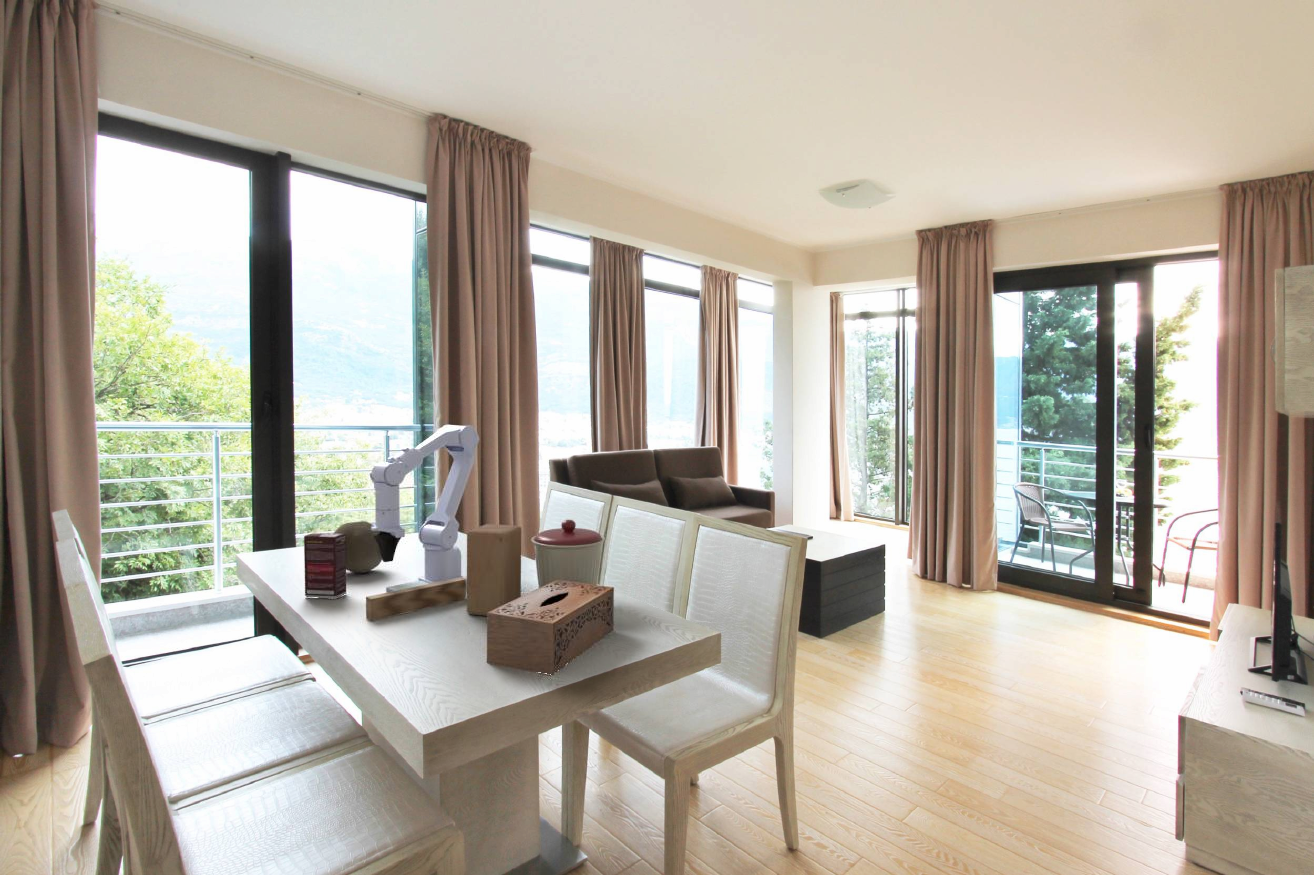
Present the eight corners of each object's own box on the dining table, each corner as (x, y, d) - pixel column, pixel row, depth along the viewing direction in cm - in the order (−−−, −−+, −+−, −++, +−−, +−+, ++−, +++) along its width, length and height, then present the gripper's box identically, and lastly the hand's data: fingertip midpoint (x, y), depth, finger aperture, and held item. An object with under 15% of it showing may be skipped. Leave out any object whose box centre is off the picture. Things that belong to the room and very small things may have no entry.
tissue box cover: (556, 622, 147) (556, 579, 146) (613, 632, 142) (613, 587, 141) (486, 664, 123) (486, 612, 123) (552, 677, 118) (552, 623, 117)
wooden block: (504, 618, 148) (505, 532, 147) (464, 615, 150) (465, 530, 149) (522, 605, 158) (522, 525, 157) (484, 602, 160) (485, 523, 159)
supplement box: (347, 594, 165) (347, 533, 164) (336, 600, 160) (335, 536, 159) (315, 592, 166) (315, 531, 165) (303, 598, 161) (302, 535, 160)
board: (460, 596, 164) (460, 577, 164) (465, 598, 163) (466, 579, 162) (366, 618, 147) (365, 596, 147) (370, 621, 145) (370, 599, 145)
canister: (516, 602, 161) (517, 518, 160) (574, 588, 173) (575, 511, 172) (559, 620, 148) (560, 529, 147) (618, 604, 160) (620, 520, 159)
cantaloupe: (376, 564, 195) (375, 515, 195) (390, 574, 184) (390, 522, 184) (325, 571, 186) (324, 520, 186) (337, 582, 175) (337, 528, 175)
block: (421, 597, 164) (421, 580, 164) (434, 603, 159) (434, 585, 159) (386, 605, 157) (386, 587, 157) (399, 611, 153) (399, 593, 152)
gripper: (359, 507, 167) (359, 558, 167) (385, 514, 157) (385, 569, 158) (386, 504, 172) (386, 554, 173) (412, 511, 162) (412, 564, 163)
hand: (387, 561), depth 166 cm, fingers closed
